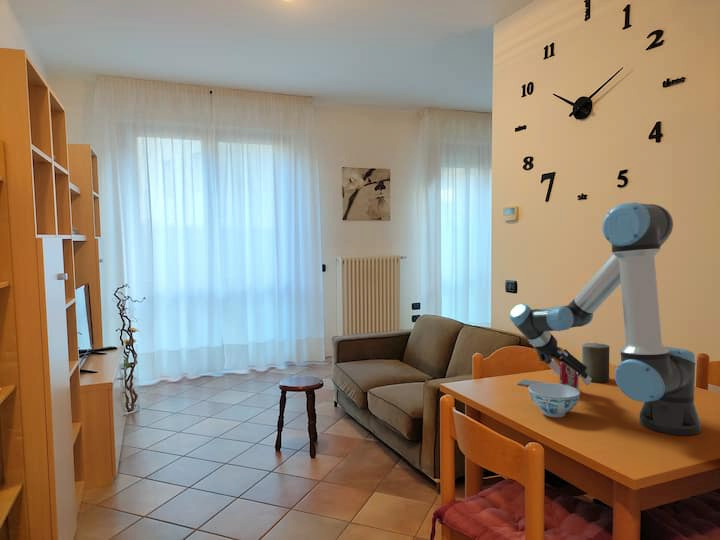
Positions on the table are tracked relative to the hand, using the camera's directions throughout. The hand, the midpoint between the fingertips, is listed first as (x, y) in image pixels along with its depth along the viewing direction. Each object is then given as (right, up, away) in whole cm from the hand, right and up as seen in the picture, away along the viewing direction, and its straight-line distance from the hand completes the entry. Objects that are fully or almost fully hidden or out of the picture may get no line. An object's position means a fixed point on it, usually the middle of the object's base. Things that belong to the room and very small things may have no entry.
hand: (574, 377), depth 174 cm
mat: (-12, -5, +9) cm, 16 cm away
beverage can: (-2, -5, -1) cm, 6 cm away
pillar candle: (+15, -4, +15) cm, 22 cm away
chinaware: (-16, -7, -22) cm, 29 cm away
